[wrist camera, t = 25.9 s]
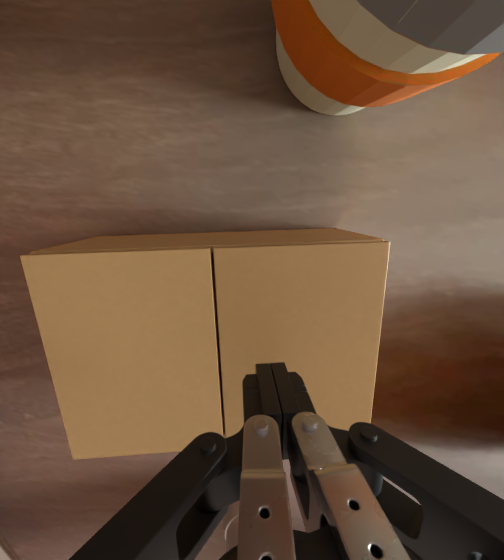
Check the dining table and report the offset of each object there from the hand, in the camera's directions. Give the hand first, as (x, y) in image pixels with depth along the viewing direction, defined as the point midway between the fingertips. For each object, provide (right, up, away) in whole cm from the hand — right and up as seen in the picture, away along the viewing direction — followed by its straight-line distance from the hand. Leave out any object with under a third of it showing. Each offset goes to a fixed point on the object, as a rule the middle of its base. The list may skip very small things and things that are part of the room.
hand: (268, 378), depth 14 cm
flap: (+2, +1, +2) cm, 3 cm away
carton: (-3, +3, +9) cm, 10 cm away
